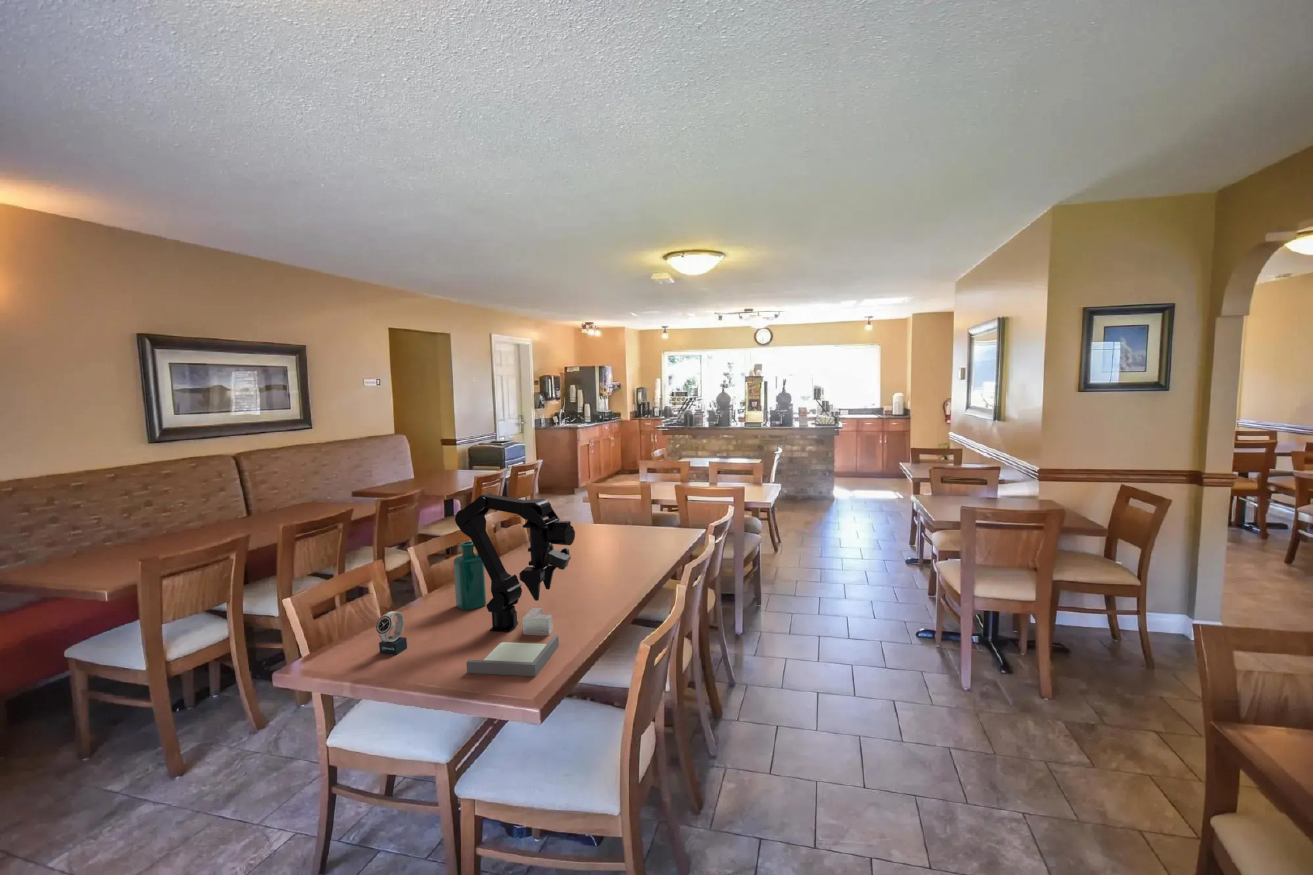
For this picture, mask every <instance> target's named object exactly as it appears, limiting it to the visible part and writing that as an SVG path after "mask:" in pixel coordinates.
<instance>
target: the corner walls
mask: <svg viewBox="0 0 1313 875" xmlns="http://www.w3.org/2000/svg"><path fill="white" fill-rule="evenodd" d="M559 641H560V640H559V635H558V634H554V635H553V636H552V637H551V638H550V639H549V641H548V642H547V643H546V644H547V645H546V646H545V647H544V649H543V650H542V651H541V652H540V654H539V655H538V656H537V657H536V659H535V660H534V661H533V662H513V661H490V660H484V659H468V660H466V661H465V662H466V673H467V674H478V675H497V676H498V675H500V676H501V675H503V676H504V675H505V676H518V677H519V676H521V677H537V676H538V674H539V672H541V670H543V667H544V666H545V665H546V664H547V662H548V661H549V660H550V658H551V657H552V655H553V654H554V653H555V651H556V650H557V649H558V648H559V645H560V642H559Z"/></svg>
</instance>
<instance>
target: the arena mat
mask: <svg viewBox="0 0 1313 875" xmlns="http://www.w3.org/2000/svg"><path fill="white" fill-rule="evenodd" d="M547 644H548V643H533V642H532V643H528V642H503V641H502V642H500V643H499V644H498V645H497V646H495V648H494V649H493V650H492V651H491V652H490V653H489V654H488V655H487V656H486V657H485V658H483V660H490V661H513V662H533V661H534V660H535V659H536V657H537V656H538V655H539V654H540V652H541V651H542V650H543V649H544V647H545V646H546V645H547Z"/></svg>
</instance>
